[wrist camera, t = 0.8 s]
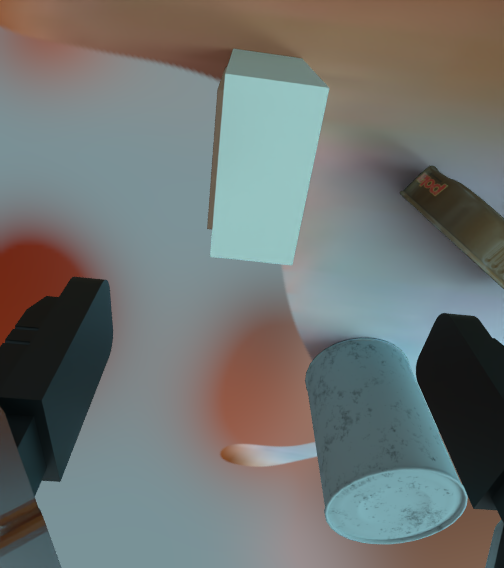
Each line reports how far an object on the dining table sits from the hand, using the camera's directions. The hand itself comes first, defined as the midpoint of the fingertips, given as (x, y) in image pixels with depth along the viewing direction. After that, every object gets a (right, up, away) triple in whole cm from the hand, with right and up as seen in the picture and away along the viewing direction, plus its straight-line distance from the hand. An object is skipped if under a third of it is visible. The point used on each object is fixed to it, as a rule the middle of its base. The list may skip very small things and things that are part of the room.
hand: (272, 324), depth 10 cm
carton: (0, +11, +16) cm, 20 cm away
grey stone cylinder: (+9, -7, +29) cm, 31 cm away
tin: (+15, +5, +20) cm, 26 cm away
